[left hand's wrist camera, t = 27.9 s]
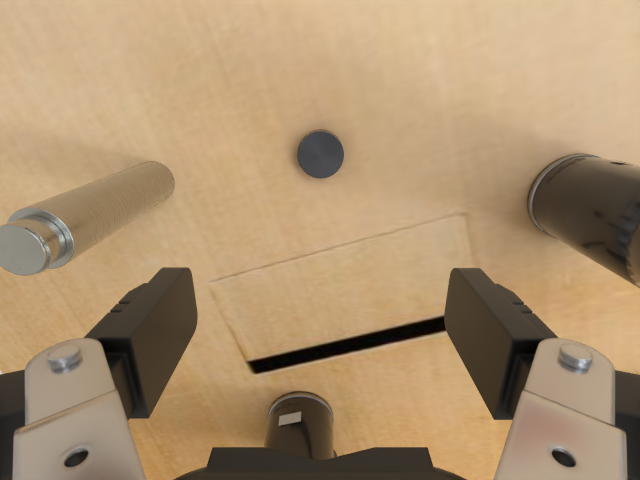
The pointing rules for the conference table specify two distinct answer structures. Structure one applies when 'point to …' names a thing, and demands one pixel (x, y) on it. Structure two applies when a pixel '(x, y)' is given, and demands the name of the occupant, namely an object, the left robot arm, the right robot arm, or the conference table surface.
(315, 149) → the lid
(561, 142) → the conference table surface
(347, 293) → the conference table surface
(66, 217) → the metal cylinder
